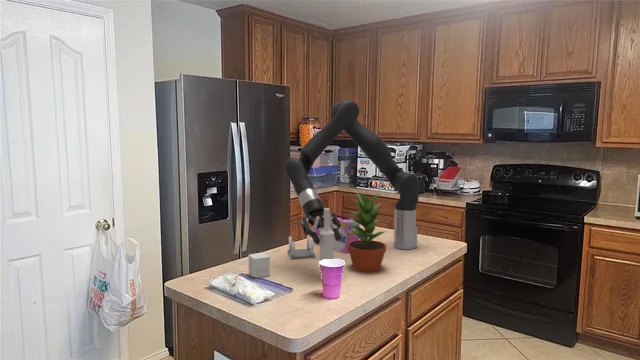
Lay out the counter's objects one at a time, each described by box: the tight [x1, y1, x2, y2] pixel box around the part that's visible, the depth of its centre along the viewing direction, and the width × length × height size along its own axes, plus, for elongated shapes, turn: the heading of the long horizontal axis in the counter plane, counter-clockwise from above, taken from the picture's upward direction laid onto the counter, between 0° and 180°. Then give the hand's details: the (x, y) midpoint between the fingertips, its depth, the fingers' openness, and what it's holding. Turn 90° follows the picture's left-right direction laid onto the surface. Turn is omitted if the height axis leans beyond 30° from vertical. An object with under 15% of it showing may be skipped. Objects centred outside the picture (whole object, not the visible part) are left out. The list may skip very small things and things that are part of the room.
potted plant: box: [348, 191, 387, 273], centre depth 157 cm, size 15×15×30 cm
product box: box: [247, 252, 271, 279], centre depth 151 cm, size 6×6×7 cm
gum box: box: [315, 212, 361, 254], centre depth 187 cm, size 24×8×14 cm, turn 39°
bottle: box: [319, 207, 335, 280], centre depth 146 cm, size 5×5×25 cm
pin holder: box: [286, 235, 316, 260], centre depth 174 cm, size 10×10×7 cm
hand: (328, 241), depth 145 cm, fingers open, 8 cm apart
